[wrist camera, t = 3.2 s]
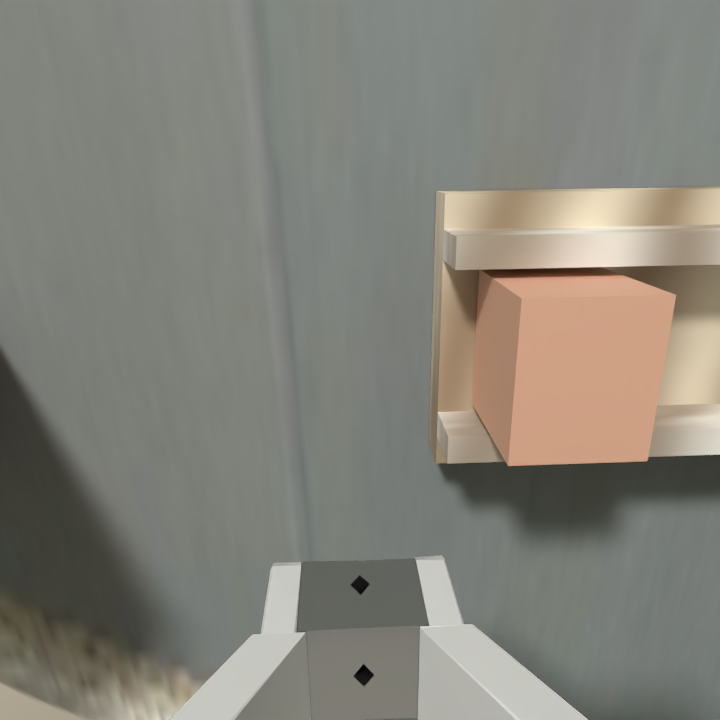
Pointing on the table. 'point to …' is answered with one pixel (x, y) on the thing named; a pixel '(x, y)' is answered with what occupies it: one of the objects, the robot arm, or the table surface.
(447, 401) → the chute
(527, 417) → the block
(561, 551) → the table surface
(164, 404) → the table surface
